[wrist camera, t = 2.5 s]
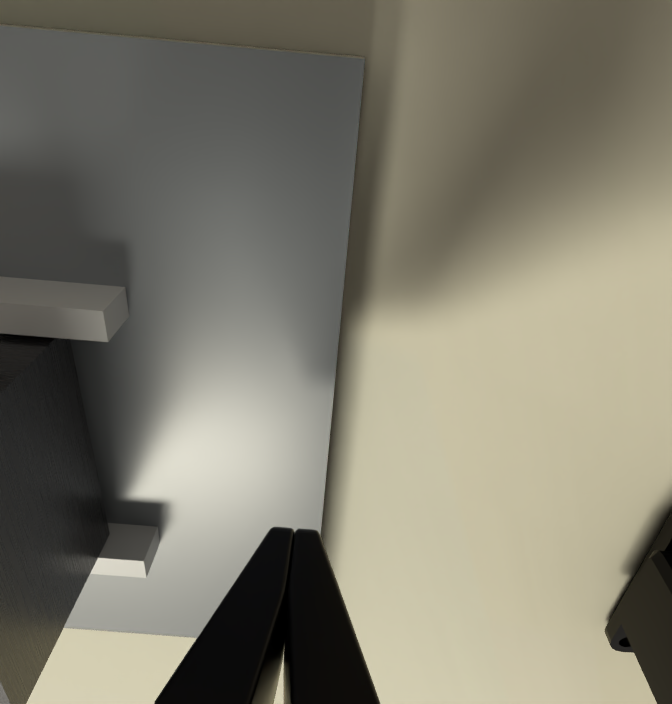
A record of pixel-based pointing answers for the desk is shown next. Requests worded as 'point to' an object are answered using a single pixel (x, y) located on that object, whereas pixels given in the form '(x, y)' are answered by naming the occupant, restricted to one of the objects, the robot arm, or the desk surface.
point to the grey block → (42, 505)
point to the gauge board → (182, 290)
